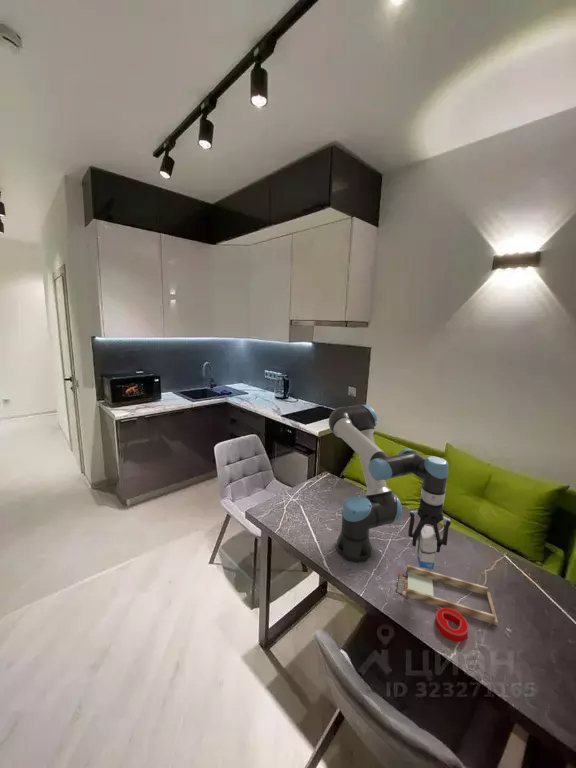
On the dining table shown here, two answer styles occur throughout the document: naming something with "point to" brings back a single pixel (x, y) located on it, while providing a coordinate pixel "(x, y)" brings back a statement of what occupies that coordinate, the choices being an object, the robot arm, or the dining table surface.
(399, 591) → the chocolate bar
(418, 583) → the front pad
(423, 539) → the ink box
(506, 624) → the dining table surface
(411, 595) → the bay
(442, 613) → the decorative ornament
